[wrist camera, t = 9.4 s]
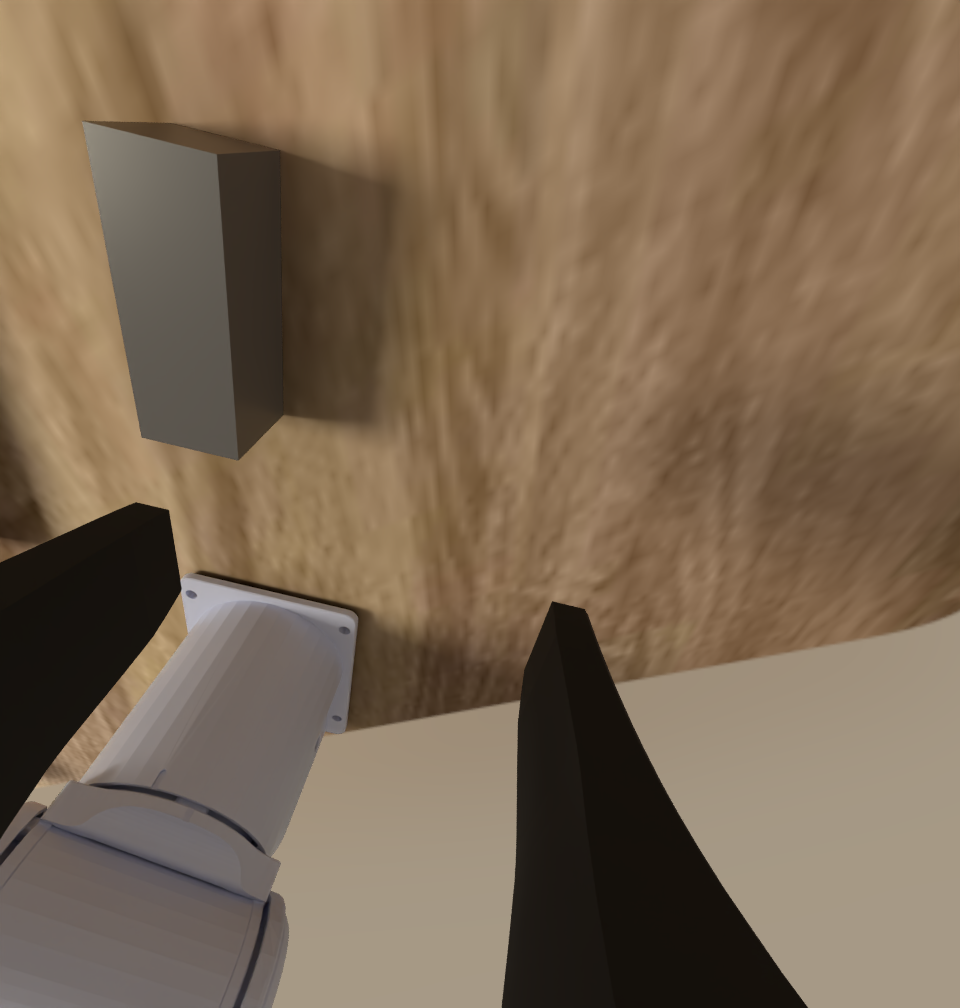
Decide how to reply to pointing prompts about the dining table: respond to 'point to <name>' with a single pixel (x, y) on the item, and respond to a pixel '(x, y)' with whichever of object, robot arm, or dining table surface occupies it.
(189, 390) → the lid
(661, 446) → the dining table surface
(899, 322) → the dining table surface
